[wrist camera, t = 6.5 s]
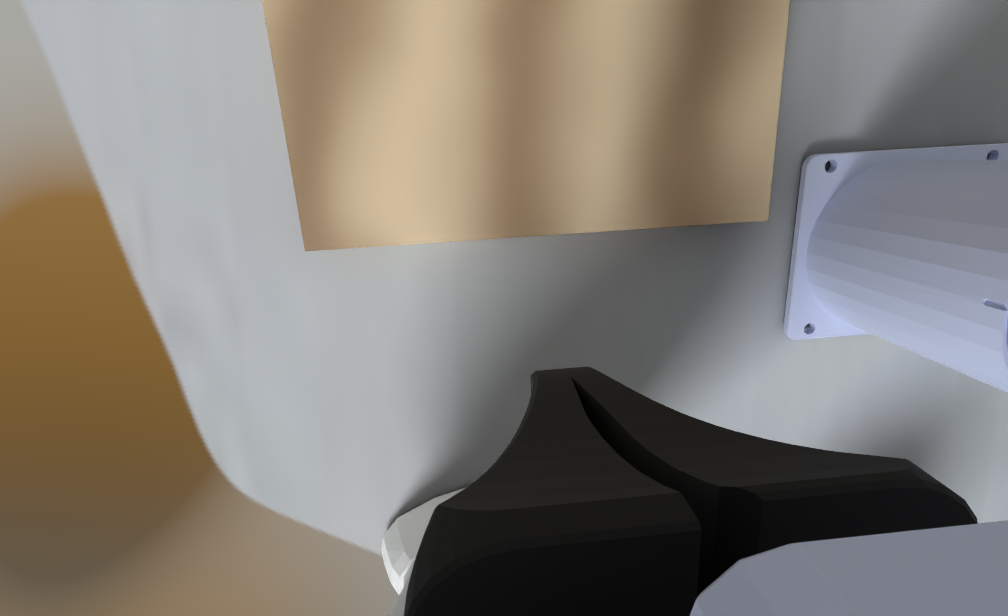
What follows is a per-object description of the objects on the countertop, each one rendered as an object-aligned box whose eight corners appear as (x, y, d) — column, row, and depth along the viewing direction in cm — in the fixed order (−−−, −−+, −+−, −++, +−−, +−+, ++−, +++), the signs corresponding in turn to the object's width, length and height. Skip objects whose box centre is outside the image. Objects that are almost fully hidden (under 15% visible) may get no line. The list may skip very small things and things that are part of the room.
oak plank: (771, -59, 18) (797, -77, 17) (747, 216, 21) (767, 220, 20) (269, -43, 17) (251, -61, 16) (316, 244, 20) (305, 251, 19)
